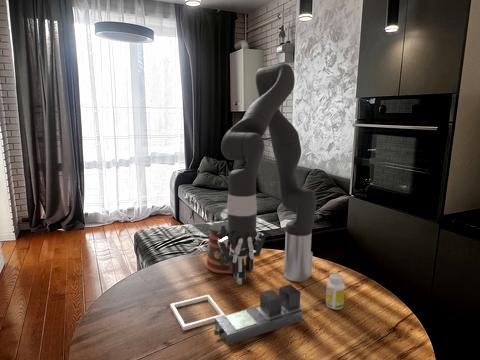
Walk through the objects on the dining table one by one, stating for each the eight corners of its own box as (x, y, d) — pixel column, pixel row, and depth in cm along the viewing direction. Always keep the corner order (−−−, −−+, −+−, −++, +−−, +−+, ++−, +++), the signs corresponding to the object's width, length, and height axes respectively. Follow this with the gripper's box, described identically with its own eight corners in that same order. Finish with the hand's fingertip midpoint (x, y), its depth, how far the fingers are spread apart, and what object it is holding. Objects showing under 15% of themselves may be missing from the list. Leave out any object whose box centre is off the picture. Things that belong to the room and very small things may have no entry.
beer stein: (245, 280, 121) (246, 227, 117) (204, 280, 121) (204, 227, 117) (243, 258, 140) (243, 211, 136) (207, 258, 139) (207, 211, 135)
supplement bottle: (344, 303, 107) (346, 274, 106) (341, 311, 103) (344, 282, 101) (327, 299, 110) (329, 270, 108) (323, 307, 105) (325, 278, 103)
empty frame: (208, 297, 109) (208, 294, 109) (225, 318, 98) (225, 314, 98) (170, 307, 104) (170, 304, 103) (183, 330, 93) (183, 326, 93)
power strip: (289, 305, 106) (290, 281, 104) (305, 319, 99) (306, 293, 97) (209, 329, 93) (209, 302, 92) (221, 347, 86) (221, 318, 85)
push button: (249, 286, 87) (250, 250, 86) (229, 286, 88) (229, 249, 86) (250, 274, 94) (250, 240, 92) (230, 274, 94) (230, 240, 92)
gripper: (258, 204, 93) (257, 262, 97) (210, 210, 87) (211, 272, 90) (273, 211, 87) (271, 273, 90) (222, 218, 81) (222, 284, 84)
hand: (241, 272), depth 90 cm, fingers closed on push button, 3 cm apart
